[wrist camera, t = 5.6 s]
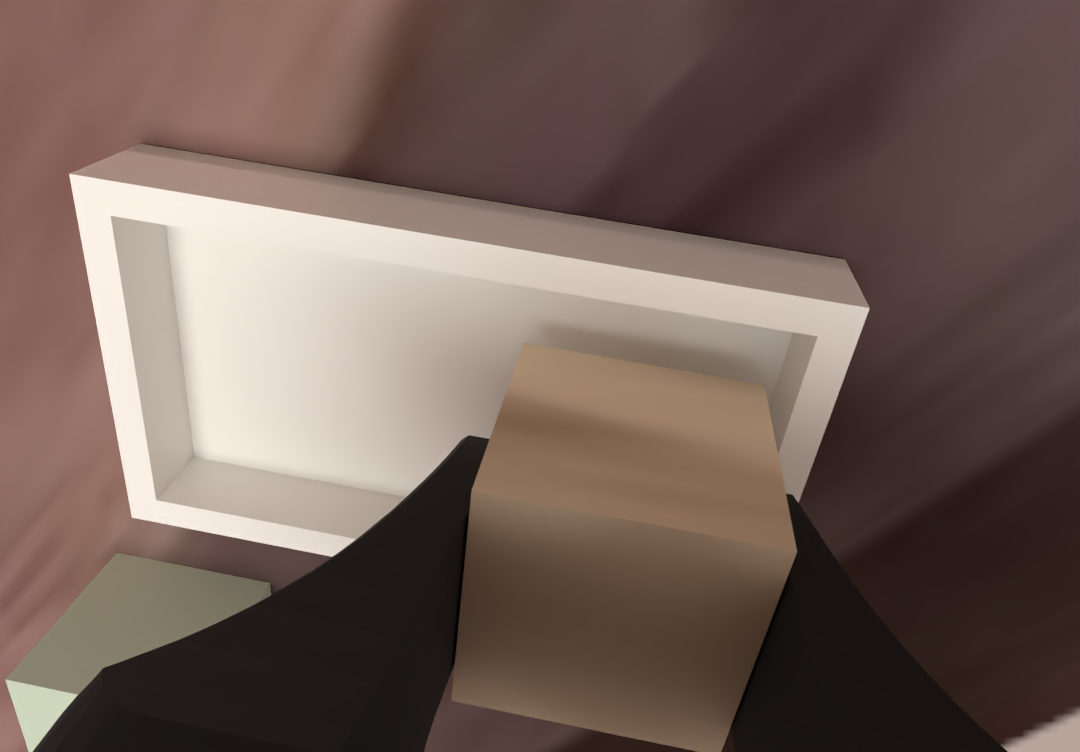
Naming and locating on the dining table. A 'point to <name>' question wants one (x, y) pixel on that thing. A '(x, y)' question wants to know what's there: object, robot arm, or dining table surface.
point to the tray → (399, 331)
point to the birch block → (622, 549)
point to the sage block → (120, 630)
